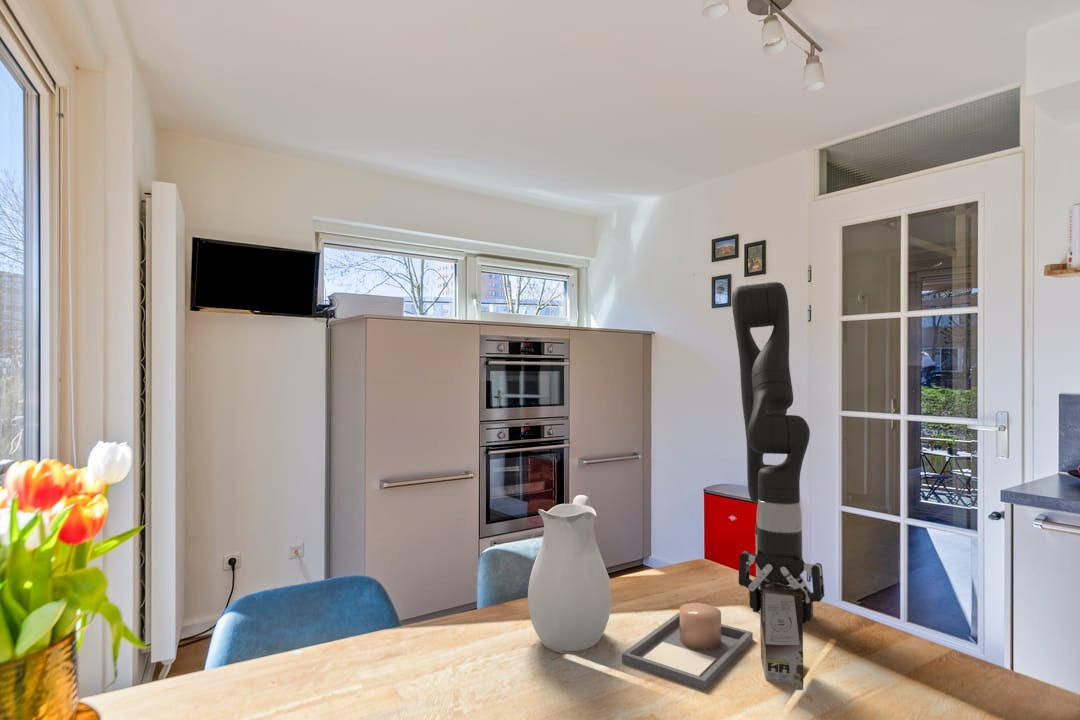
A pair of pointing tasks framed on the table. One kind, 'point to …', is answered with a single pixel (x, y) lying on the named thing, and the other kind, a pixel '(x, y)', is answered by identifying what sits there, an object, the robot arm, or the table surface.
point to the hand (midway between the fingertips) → (780, 616)
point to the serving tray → (685, 654)
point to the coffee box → (781, 633)
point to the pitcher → (569, 580)
